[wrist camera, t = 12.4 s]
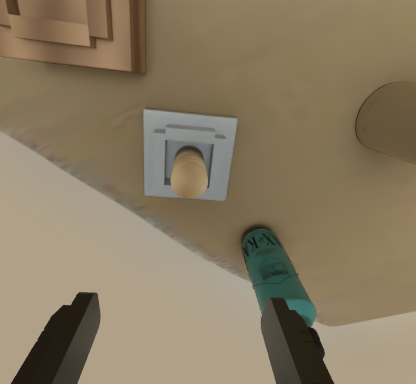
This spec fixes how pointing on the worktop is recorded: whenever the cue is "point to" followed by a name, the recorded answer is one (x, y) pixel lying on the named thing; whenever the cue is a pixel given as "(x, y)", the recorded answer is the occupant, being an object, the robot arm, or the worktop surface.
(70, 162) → the worktop surface
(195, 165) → the birch peg
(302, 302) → the beverage bottle
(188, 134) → the slate dock
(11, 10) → the walnut dock
